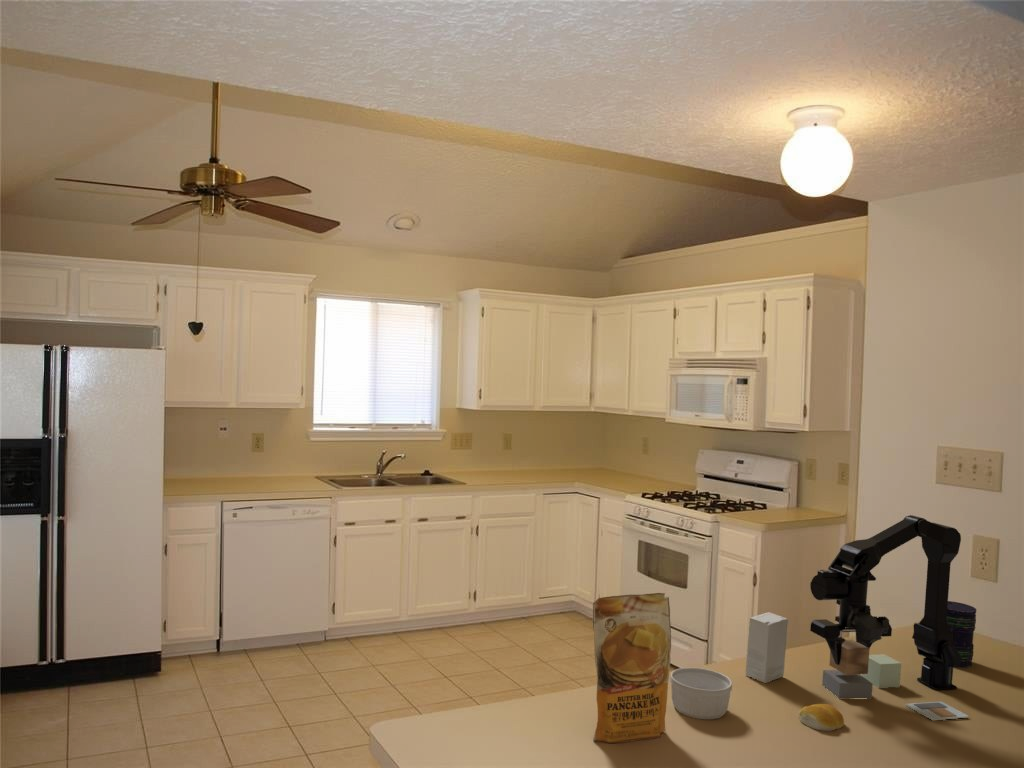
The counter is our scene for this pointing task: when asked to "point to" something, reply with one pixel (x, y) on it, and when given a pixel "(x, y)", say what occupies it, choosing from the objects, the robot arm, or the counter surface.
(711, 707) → the ramekin
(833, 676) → the charcoal block
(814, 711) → the bread roll
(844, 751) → the counter surface
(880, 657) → the sage cube
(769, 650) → the skincare box
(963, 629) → the storage jar
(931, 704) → the card
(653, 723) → the pancake mix bag
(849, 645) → the walnut cube
